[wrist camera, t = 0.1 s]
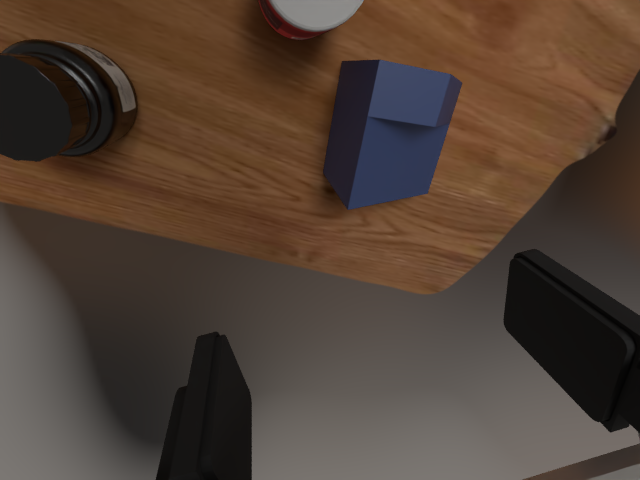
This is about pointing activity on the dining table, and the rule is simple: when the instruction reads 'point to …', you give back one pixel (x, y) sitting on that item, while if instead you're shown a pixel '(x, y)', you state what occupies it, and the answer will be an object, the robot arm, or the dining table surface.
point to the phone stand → (387, 130)
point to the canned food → (307, 16)
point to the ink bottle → (61, 100)
